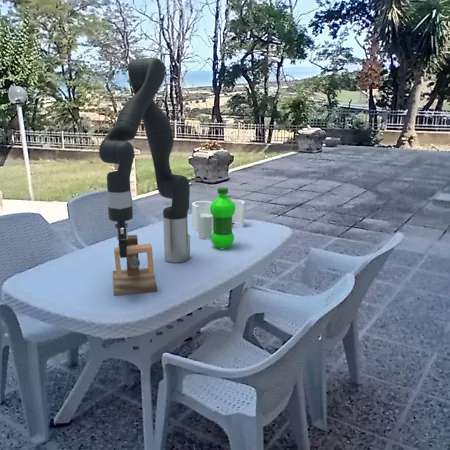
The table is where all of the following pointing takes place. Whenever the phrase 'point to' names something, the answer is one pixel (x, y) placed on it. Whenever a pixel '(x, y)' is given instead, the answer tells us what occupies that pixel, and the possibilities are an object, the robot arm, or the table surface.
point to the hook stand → (133, 275)
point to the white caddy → (204, 208)
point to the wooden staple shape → (135, 250)
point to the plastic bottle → (222, 219)
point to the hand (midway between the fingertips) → (123, 252)
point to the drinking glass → (205, 226)
